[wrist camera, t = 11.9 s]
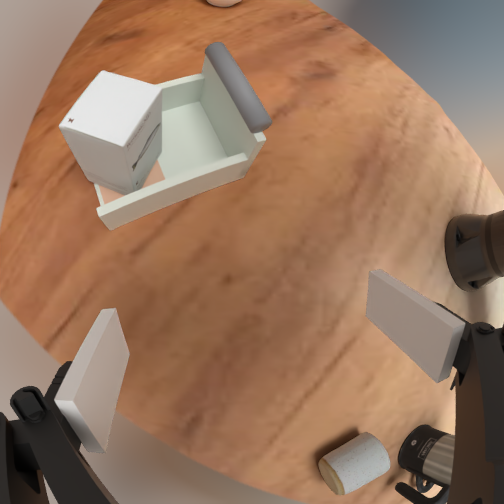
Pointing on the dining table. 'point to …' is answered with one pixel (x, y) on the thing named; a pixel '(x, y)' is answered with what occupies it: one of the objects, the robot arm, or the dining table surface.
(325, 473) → the ceramic mug
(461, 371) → the robot arm
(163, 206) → the tray
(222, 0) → the lidded jar
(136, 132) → the supplement box
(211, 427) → the dining table surface
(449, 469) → the milk frother
